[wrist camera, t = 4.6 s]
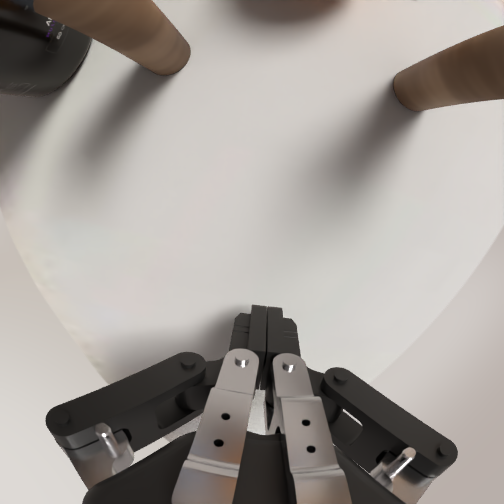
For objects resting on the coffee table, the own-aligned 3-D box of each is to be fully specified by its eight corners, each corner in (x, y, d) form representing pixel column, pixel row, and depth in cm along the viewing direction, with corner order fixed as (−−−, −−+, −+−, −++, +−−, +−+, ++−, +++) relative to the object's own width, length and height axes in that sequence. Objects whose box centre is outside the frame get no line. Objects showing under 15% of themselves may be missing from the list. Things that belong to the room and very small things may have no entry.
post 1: (151, 38, 11) (49, -36, 2) (193, 35, 11) (115, -64, 2) (144, 76, 12) (23, 25, 3) (187, 74, 12) (87, -3, 3)
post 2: (394, 64, 11) (504, 7, 2) (430, 78, 11) (548, 47, 2) (392, 103, 12) (518, 72, 3) (429, 116, 12) (557, 110, 3)
